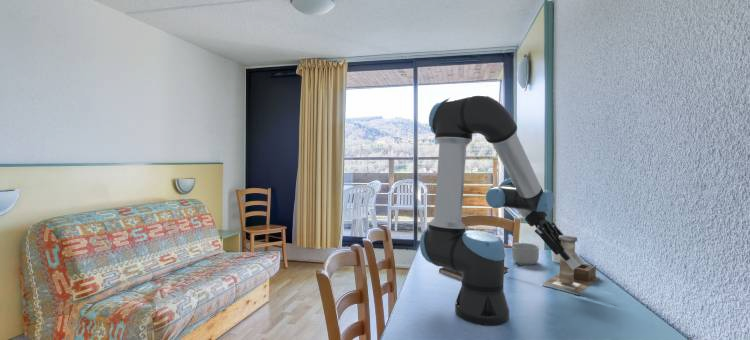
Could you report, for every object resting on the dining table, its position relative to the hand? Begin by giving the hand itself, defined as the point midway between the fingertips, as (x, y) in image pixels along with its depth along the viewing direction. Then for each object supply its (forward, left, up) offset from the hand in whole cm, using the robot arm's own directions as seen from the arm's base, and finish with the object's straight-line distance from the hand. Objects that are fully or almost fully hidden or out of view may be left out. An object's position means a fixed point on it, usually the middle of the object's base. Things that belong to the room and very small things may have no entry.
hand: (578, 266), depth 123 cm
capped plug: (0, +4, -7) cm, 7 cm away
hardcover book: (-10, +34, -9) cm, 37 cm away
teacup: (+17, +27, -9) cm, 33 cm away
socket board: (+6, +4, -9) cm, 11 cm away
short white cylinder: (+28, +16, -9) cm, 33 cm away
